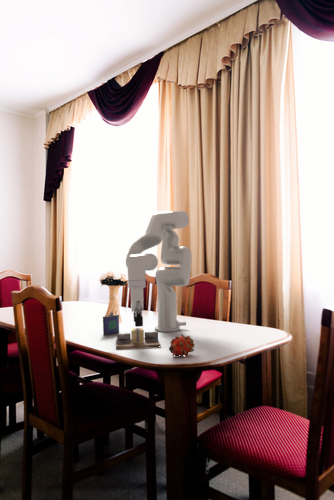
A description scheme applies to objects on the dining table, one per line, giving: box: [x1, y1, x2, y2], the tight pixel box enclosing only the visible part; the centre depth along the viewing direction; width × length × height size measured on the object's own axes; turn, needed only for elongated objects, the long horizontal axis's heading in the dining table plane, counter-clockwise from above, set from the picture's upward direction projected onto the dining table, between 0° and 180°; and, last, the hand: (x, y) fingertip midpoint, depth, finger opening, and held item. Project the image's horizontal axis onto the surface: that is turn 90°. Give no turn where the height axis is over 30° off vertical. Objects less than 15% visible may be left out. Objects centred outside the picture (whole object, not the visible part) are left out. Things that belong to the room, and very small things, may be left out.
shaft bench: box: [115, 331, 161, 350], centre depth 160 cm, size 18×14×5 cm
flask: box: [102, 311, 120, 337], centre depth 181 cm, size 9×3×11 cm, turn 138°
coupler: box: [130, 327, 145, 343], centre depth 160 cm, size 5×4×5 cm
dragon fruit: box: [168, 334, 195, 357], centre depth 141 cm, size 8×8×12 cm
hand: (138, 323), depth 161 cm, fingers open, 9 cm apart
